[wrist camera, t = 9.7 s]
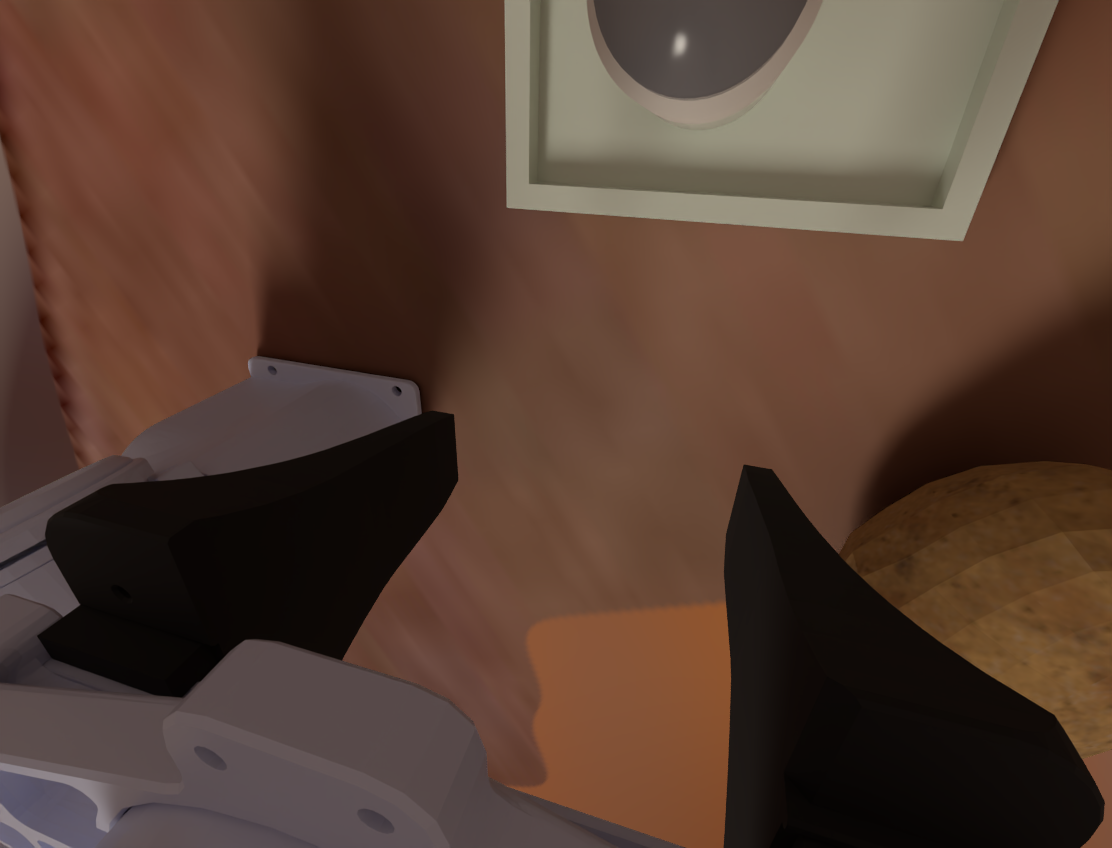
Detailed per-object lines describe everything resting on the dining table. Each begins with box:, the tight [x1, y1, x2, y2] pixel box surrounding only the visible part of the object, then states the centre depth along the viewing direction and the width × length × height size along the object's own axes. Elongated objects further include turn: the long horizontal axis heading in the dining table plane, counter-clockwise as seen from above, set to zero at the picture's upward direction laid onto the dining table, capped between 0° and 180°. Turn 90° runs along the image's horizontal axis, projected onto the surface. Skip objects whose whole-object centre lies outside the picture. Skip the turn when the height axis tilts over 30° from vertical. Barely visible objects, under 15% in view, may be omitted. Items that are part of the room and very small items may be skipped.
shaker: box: [587, 0, 823, 130], centre depth 12 cm, size 5×5×7 cm
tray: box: [505, 0, 1059, 241], centre depth 15 cm, size 14×10×2 cm
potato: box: [839, 461, 1112, 759], centre depth 18 cm, size 10×14×8 cm
